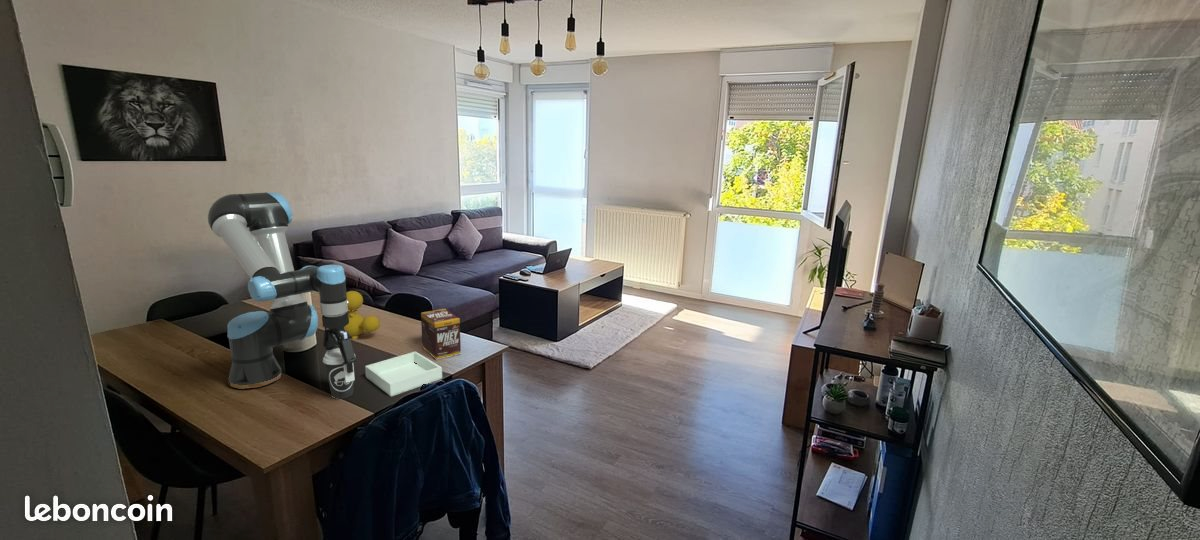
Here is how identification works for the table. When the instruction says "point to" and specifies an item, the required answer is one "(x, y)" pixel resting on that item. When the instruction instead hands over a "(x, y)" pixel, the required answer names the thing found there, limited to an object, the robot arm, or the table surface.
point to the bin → (403, 373)
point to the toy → (358, 317)
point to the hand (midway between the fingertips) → (341, 374)
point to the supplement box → (440, 333)
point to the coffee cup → (337, 374)
